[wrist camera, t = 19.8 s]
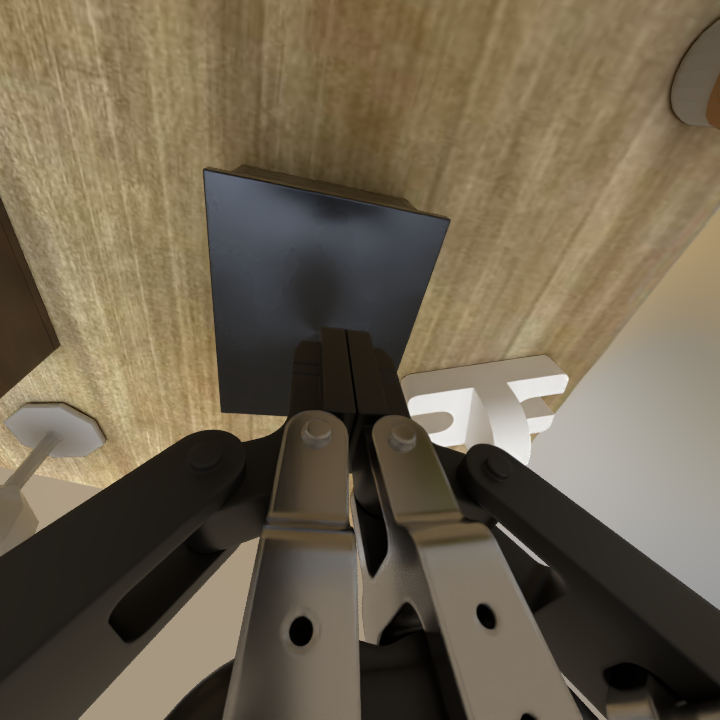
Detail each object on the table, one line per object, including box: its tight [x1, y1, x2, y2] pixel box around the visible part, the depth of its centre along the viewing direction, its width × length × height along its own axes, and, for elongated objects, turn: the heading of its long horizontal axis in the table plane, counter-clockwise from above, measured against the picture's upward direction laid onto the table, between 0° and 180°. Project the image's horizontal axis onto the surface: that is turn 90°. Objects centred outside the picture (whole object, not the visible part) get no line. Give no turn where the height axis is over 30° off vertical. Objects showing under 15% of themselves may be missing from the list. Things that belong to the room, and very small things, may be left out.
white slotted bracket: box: [401, 355, 569, 466], centre depth 36 cm, size 10×18×10 cm, turn 96°
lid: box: [203, 167, 450, 416], centre depth 21 cm, size 16×13×1 cm
